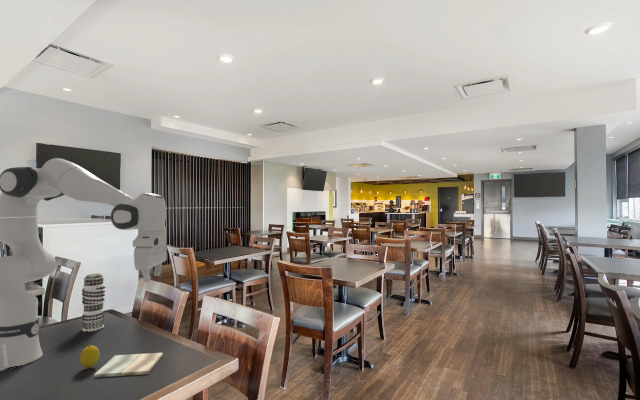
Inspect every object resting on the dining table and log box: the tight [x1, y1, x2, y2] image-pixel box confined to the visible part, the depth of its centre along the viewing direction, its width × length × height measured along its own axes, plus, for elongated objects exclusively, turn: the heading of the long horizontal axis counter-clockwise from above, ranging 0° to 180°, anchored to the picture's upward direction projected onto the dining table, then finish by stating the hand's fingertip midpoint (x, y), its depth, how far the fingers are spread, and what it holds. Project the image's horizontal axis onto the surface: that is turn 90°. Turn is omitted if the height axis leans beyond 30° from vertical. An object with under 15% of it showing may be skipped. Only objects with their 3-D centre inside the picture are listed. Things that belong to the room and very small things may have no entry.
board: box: [93, 352, 164, 378], centre depth 117 cm, size 17×14×1 cm
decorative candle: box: [81, 273, 107, 332], centre depth 153 cm, size 9×9×25 cm
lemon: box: [79, 344, 100, 369], centre depth 115 cm, size 6×6×8 cm
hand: (152, 278), depth 115 cm, fingers open, 8 cm apart
